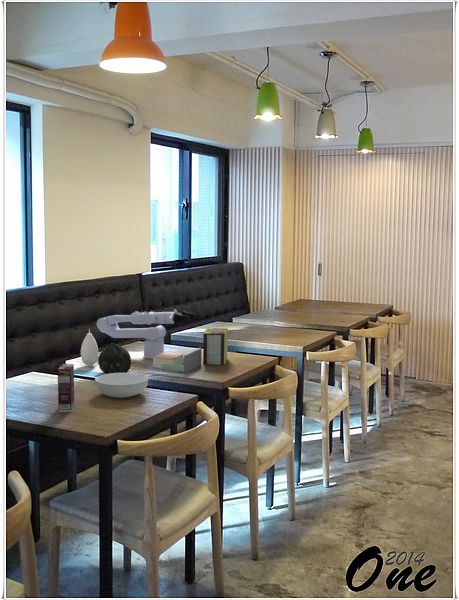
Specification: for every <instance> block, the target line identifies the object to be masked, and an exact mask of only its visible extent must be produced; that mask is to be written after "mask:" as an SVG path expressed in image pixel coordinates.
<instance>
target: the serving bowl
mask: <svg viewBox="0 0 459 600" xmlns="http://www.w3.org/2000/svg"><path fill="white" fill-rule="evenodd" d="M94 381H95V386H96V389H97V390H98V392H100V393H101V394H103V395H104V396H108V397H112V398H114V399H115V398H116V399H126V398H131V397H134V396H137V395H139V394H141V393H143V392H144V391H145V390H146V388H147V386H148V384H149V377H148V376H147V375H145V374H141V373H135V372H127V373H110V374H104V373H103V374H100V375H98V376H96V377H95V378H94Z"/></svg>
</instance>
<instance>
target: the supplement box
mask: <svg viewBox="0 0 459 600" xmlns="http://www.w3.org/2000/svg"><path fill="white" fill-rule="evenodd" d="M74 370H75V369H74V363H62V364H60V366H59V367H58V368H57V397H58V398H57V403H58V404H57V405H58V409H57V410H58V413H71V412H72V411H73V409H74V407H75V403H76V402H75V371H74Z"/></svg>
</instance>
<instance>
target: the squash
mask: <svg viewBox="0 0 459 600" xmlns="http://www.w3.org/2000/svg"><path fill="white" fill-rule="evenodd" d="M97 363H98V366H99V369H100V371H102V372H103V375H104V374H110V373H129V371H130V369H131V366H132V359H131V355H130V352H129V351H128V350H127V349H125V348H124V347H122V345H119V344H117V343H114V342H111V343H109V344H108V345H107V346H106V347H105V348H104V349H103V350H102V351H101V352H100V353H99V354H98V359H97Z"/></svg>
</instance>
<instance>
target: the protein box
mask: <svg viewBox="0 0 459 600" xmlns="http://www.w3.org/2000/svg"><path fill="white" fill-rule="evenodd" d="M228 333H229V328H225V327H223V328H222V327H220V328H219V327H206V329H205V331H204V332H203V335H202V337H203V347H202V351H203V352H202V353H203V355H202V357H203V359H202V363H203V365H205V366H206V365H209V366H225V364H226V363H227V360H228V351H229V350H228V349H229V348H228V344H229V343H228V342H229V337H228V336H229V335H228Z"/></svg>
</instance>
